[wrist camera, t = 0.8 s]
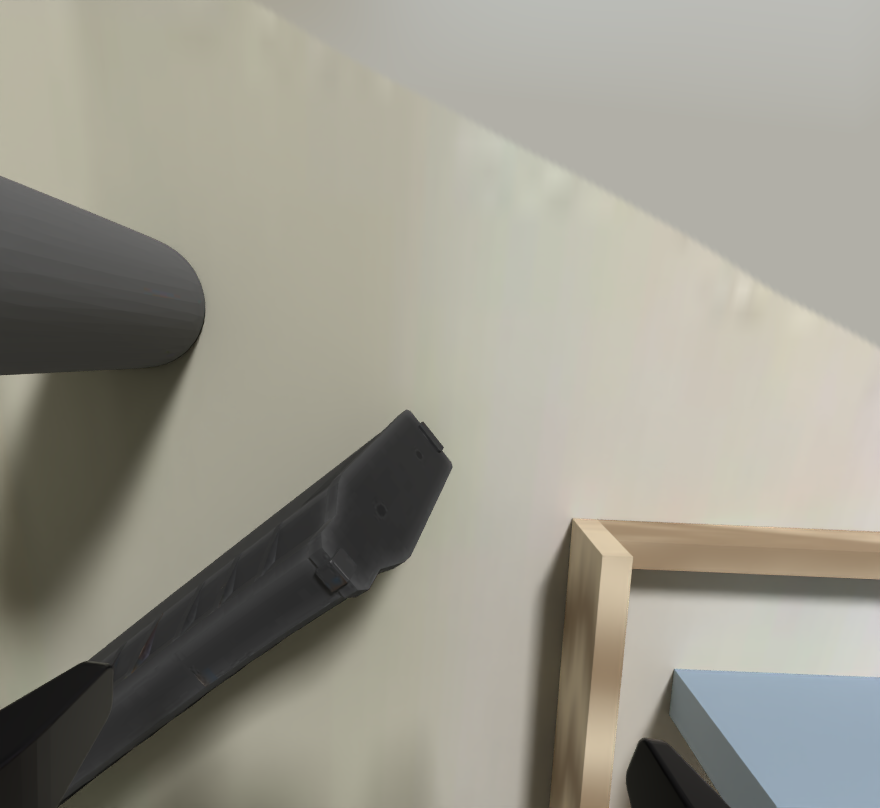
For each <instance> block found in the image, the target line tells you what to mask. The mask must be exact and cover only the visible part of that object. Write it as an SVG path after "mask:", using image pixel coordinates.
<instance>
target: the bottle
mask: <svg viewBox="0 0 880 808" xmlns="http://www.w3.org/2000/svg"><path fill="white" fill-rule="evenodd" d="M204 314H205V299H204V293H203V289H202V286H201V283H200V281H199V279H198V277H197V275H196V273H195V271H194V269H193V268H192V267H191V265H190V264H189V263H188V262H187V260H186V259H185V258H184V257H182V256H181V255H180V254H179V253H178V252H177V251H175V250H174V249H172V248H171V247H169V246H168V245H166V244H164V243H162V242H160V241H158V240H156V239H153V238H151V237H149V236H147V235H144V234H142V233H139V232H137V231H134V230H132V229H130V228H127V227H125V226H122V225H120V224H117V223H115V222H113V221H110V220H108V219H105V218H103V217H100V216H98V215H96V214H93V213H91V212H88V211H86V210H83V209H81V208H79V207H76V206H74V205H71V204H69V203H66V202H64V201H61V200H59V199H56V198H54V197H51V196H49V195H47V194H44V193H42V192H39V191H37V190H34V189H32V188H29V187H27V186H24V185H22V184H19V183H17V182H14V181H12V180H9V179H7V178H4V177H2V176H0V375H16V374H35V373H55V372H75V371H94V370H114V369H133V368H146V367H154V366H159V365H163V364H166V363H168V362H171V361H173V360H175V359H176V358H178V357H179V356H181V355H182V354H184V353H185V352H186V351H187V350H188V349H189V348H190V347H191V345H192V344H193V343H194V342H195V340H196V338H197V337H198V335H199V333H200V330H201V327H202V325H203V321H204Z"/></svg>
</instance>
